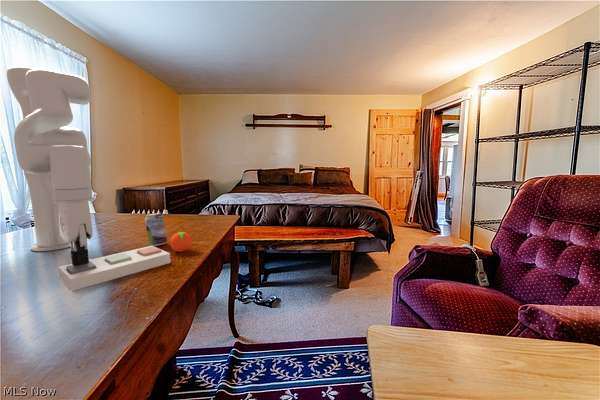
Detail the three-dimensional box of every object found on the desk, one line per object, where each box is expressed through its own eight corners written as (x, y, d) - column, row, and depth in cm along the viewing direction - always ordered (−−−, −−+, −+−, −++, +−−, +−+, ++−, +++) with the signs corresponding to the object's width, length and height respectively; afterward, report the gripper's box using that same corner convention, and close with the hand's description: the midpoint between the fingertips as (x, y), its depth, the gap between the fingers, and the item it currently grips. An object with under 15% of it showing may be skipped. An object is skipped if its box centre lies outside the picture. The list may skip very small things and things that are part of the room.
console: (59, 277, 73) (58, 266, 72) (152, 254, 91) (152, 245, 91) (72, 291, 65) (70, 279, 65) (170, 262, 84) (170, 253, 84)
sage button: (105, 267, 78) (104, 257, 77) (125, 262, 82) (124, 253, 81) (112, 272, 75) (111, 261, 74) (131, 266, 79) (131, 256, 78)
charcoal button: (67, 277, 71) (66, 266, 71) (90, 271, 75) (89, 260, 75) (72, 282, 68) (71, 271, 68) (96, 276, 72) (95, 265, 72)
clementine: (194, 253, 92) (193, 233, 91) (171, 257, 89) (170, 235, 88) (190, 247, 99) (190, 228, 98) (170, 249, 96) (168, 230, 95)
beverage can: (159, 248, 97) (157, 215, 96) (142, 246, 99) (139, 214, 97) (171, 243, 104) (169, 212, 102) (154, 241, 105) (152, 211, 103)
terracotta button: (137, 259, 85) (137, 250, 84) (154, 255, 88) (153, 246, 88) (144, 263, 81) (144, 253, 81) (161, 258, 85) (161, 249, 85)
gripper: (47, 193, 70) (55, 261, 73) (61, 200, 61) (70, 277, 64) (83, 191, 76) (89, 253, 79) (101, 196, 67) (107, 267, 70)
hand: (80, 264), depth 71 cm, fingers closed
